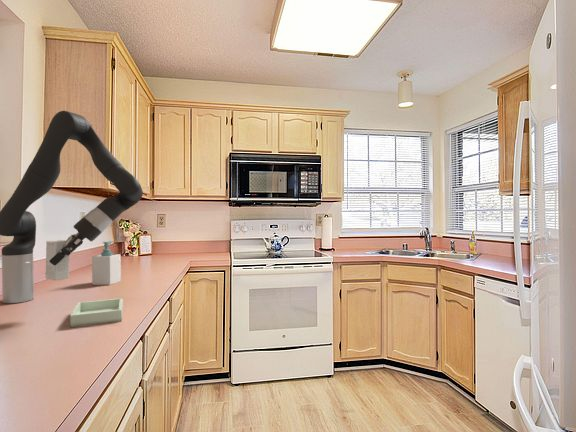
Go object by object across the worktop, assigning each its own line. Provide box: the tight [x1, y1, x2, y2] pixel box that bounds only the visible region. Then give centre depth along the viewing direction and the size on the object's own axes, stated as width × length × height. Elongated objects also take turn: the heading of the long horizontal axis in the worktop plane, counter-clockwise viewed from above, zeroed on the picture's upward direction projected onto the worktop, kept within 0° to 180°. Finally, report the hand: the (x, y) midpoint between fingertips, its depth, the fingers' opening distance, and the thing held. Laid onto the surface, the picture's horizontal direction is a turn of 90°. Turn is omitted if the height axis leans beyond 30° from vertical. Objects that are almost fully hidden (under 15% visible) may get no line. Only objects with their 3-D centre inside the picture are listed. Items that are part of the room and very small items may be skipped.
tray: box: [69, 297, 124, 328], centre depth 109 cm, size 16×13×3 cm
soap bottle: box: [91, 240, 122, 286], centre depth 161 cm, size 9×9×19 cm
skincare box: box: [45, 239, 70, 281], centre depth 111 cm, size 6×4×12 cm
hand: (51, 261), depth 110 cm, fingers closed on skincare box, 7 cm apart
